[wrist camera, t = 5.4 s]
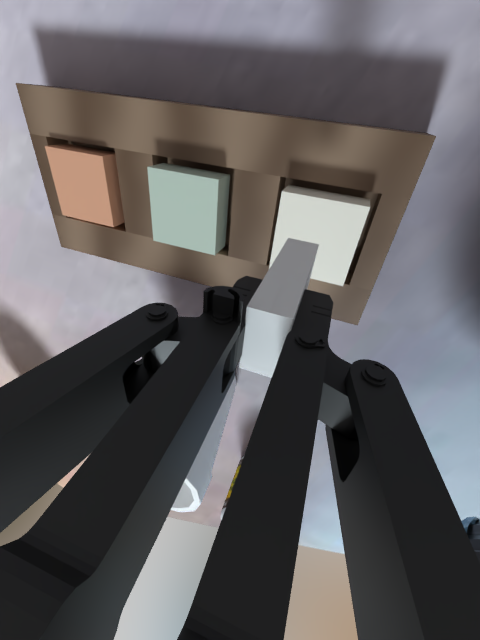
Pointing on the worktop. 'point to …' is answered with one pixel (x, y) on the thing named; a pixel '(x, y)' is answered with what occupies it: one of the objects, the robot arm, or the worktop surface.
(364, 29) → the worktop surface
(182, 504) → the foam cup
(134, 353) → the robot arm
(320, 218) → the cream tile
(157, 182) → the sage tile
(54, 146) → the terracotta tile
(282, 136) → the walnut board
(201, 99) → the worktop surface
